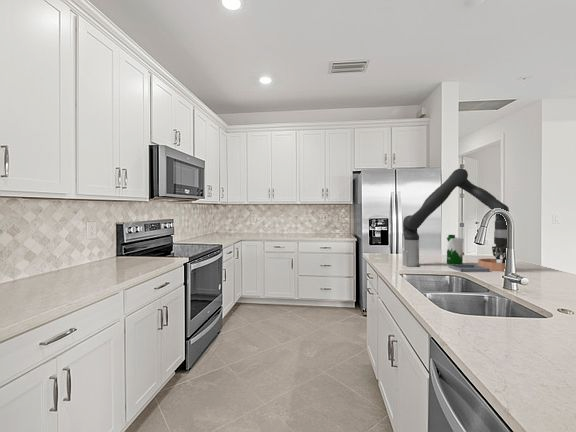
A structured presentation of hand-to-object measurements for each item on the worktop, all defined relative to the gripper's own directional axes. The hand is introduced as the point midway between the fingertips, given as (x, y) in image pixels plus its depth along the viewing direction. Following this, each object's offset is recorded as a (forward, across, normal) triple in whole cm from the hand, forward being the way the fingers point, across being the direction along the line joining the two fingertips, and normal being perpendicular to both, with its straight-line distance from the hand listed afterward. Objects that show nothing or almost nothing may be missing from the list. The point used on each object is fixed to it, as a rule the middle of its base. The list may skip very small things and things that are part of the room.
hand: (501, 264), depth 191 cm
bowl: (+3, 0, -4) cm, 5 cm away
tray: (+3, +2, -22) cm, 22 cm away
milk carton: (+4, -18, -19) cm, 26 cm away
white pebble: (0, 0, 0) cm, 0 cm away
